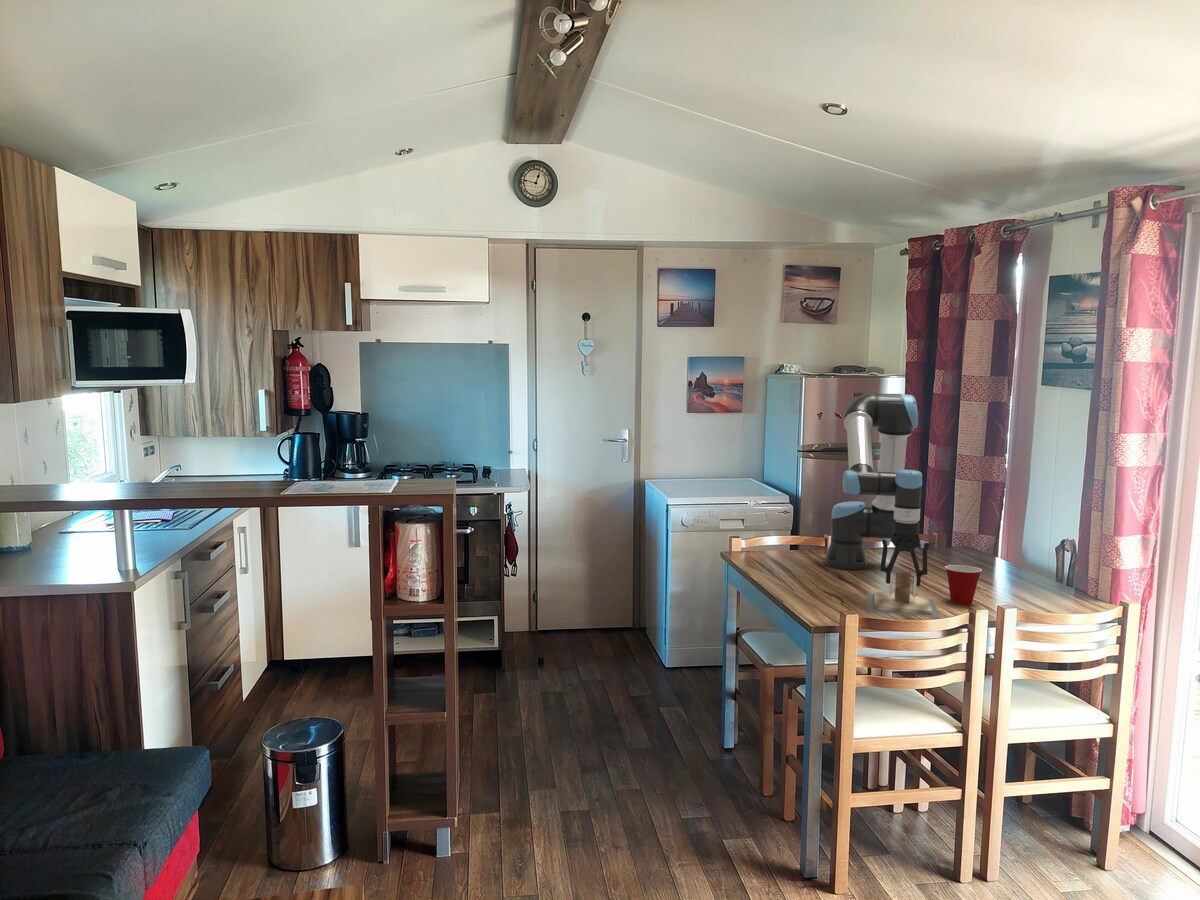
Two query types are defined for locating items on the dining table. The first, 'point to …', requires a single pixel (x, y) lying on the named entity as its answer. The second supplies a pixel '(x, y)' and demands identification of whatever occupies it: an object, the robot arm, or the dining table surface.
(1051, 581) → the dining table surface
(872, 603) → the mat
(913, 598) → the lid
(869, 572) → the dining table surface
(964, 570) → the plastic cup
